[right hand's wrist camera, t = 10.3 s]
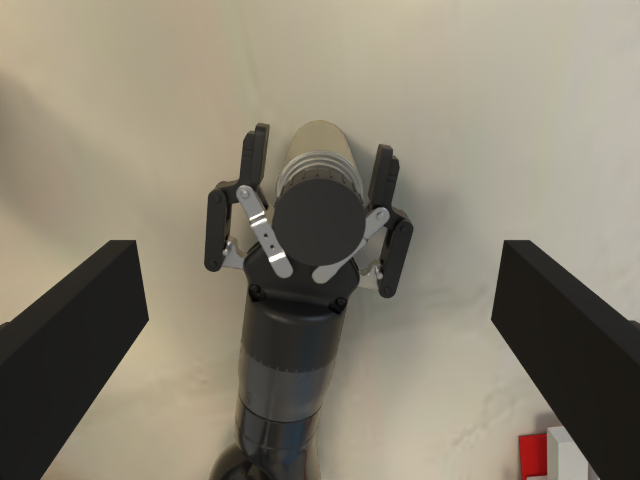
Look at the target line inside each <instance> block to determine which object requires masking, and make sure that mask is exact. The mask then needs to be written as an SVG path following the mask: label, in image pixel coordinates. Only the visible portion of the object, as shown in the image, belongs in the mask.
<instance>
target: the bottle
mask: <svg viewBox="0 0 640 480" xmlns="http://www.w3.org/2000/svg"><path fill="white" fill-rule="evenodd" d="M316 168H318V169H327V170H330V169H332V171H335V172H337V173H339V174H341V175H342V174H343V175H344V177H346V178H347V179H348V180H349V181H350V182H351V183H354V185H355V188H356V189H357V191H358V193H360V194H361V198H362V200H363V185H362V180H361V178H360V175H359V172H358V169H357V167H356V164H355V161H354V159H353V156H352V153H351V151H350V148H349V145H348V143H347V140H346V137H345V135H344V134H343V132H342V131H341V130H340V129H339V128H338V127H337V126H336V125H334V124H332V123H330V122H327V121H322V120H318V121H312V122H309V123H307V124H305V125H304V126H302V127H301V128H300V129H299V130H298V131H297V133H296V134H295V136H294V138H293V141H292V143H291V146H290V149H289V151H288V154H287V157H286V159H285V162H284V164H283V167H282V170H281V172H280V175H279V177H278V180H277V184H276V200H277V197H279V195H280V193H281V190H282V187H283V185H284V186H285V185H286V184H287V182H289V181H290V180H291V177H292V176H293V177H294V176H296V175H298V174H300V173H302V172H303V170H305V171H307V170H311V169H316Z"/></svg>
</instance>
